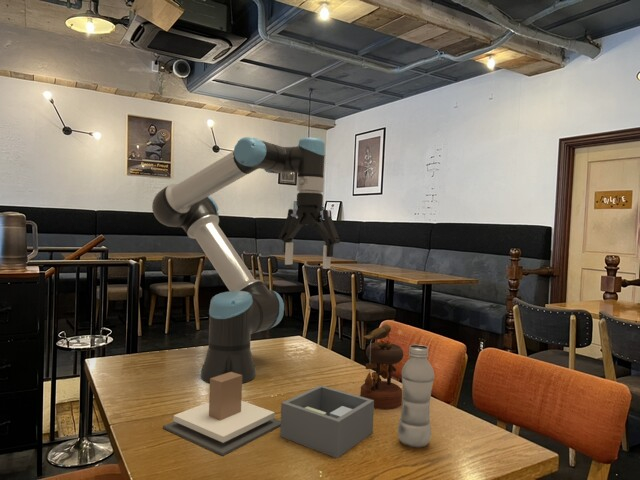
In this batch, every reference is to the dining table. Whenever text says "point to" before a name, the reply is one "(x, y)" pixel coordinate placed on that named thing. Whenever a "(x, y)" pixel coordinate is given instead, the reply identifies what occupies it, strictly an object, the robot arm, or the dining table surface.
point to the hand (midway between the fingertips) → (307, 266)
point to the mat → (217, 445)
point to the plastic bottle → (416, 398)
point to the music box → (382, 371)
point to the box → (327, 420)
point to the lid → (224, 411)
